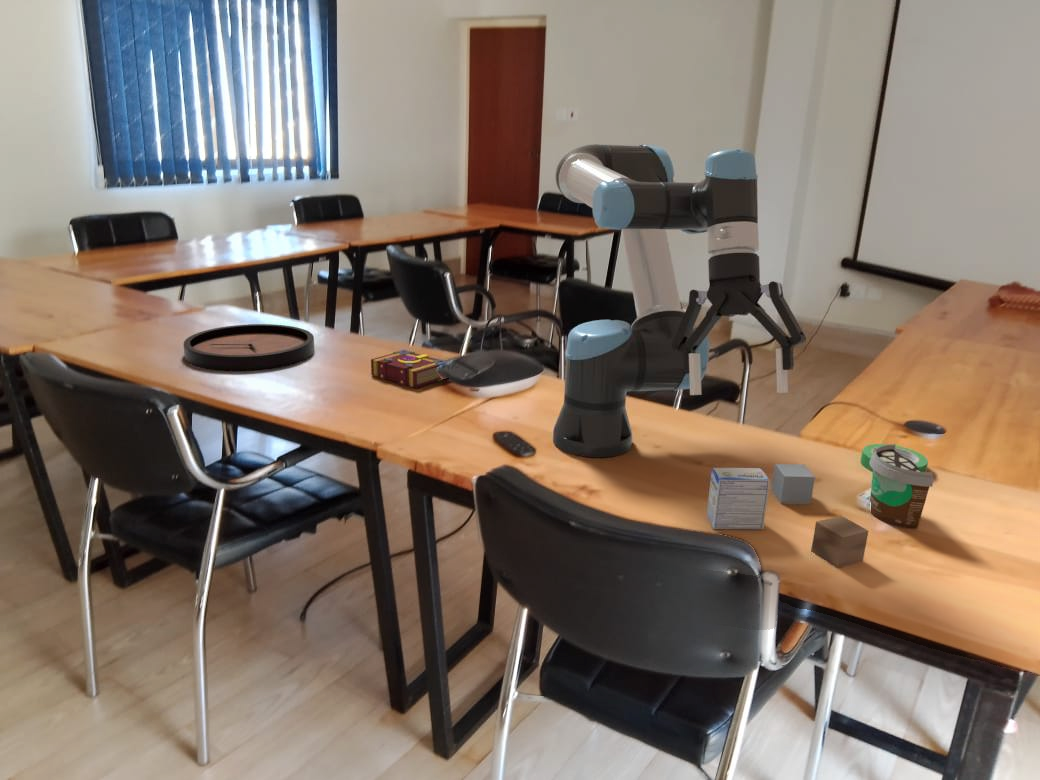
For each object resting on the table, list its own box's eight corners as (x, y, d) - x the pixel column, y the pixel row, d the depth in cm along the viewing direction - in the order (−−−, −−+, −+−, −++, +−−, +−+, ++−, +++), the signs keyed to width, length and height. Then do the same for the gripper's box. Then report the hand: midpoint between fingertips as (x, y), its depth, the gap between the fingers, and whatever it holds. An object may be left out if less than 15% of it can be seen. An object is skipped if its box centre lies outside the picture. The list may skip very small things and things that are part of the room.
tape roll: (920, 461, 152) (922, 447, 152) (930, 484, 142) (933, 470, 142) (857, 452, 155) (859, 440, 155) (863, 475, 145) (865, 461, 144)
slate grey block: (771, 490, 138) (774, 463, 136) (800, 491, 138) (804, 464, 136) (780, 504, 133) (784, 476, 131) (810, 504, 133) (814, 477, 131)
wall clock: (338, 333, 212) (257, 363, 185) (339, 348, 213) (258, 380, 186) (244, 318, 223) (154, 345, 196) (245, 332, 225) (156, 361, 197)
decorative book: (415, 390, 182) (415, 369, 180) (366, 375, 191) (366, 355, 190) (449, 379, 191) (449, 359, 189) (401, 365, 200) (401, 346, 198)
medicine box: (754, 517, 128) (761, 467, 125) (763, 531, 124) (771, 479, 121) (705, 516, 128) (711, 466, 125) (712, 530, 123) (719, 479, 121)
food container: (847, 497, 136) (857, 442, 132) (883, 497, 136) (893, 442, 133) (884, 533, 124) (895, 474, 121) (922, 533, 124) (935, 474, 121)
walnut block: (811, 552, 118) (816, 521, 117) (836, 545, 120) (841, 515, 119) (837, 568, 114) (842, 537, 112) (862, 561, 116) (868, 530, 114)
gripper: (648, 261, 127) (652, 396, 127) (810, 240, 113) (814, 392, 113) (668, 266, 133) (672, 395, 133) (824, 247, 119) (829, 391, 119)
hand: (737, 394), depth 123 cm, fingers open, 13 cm apart
